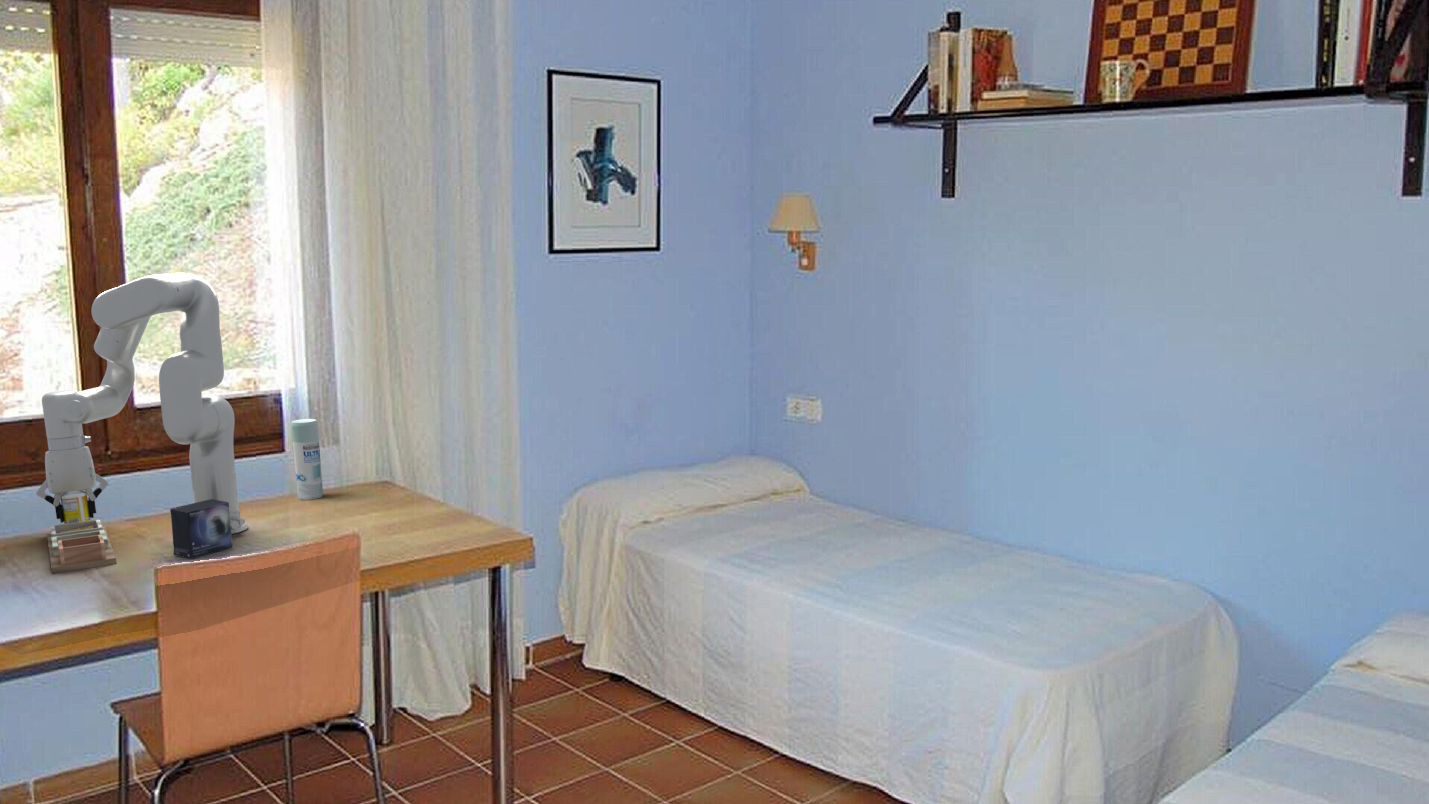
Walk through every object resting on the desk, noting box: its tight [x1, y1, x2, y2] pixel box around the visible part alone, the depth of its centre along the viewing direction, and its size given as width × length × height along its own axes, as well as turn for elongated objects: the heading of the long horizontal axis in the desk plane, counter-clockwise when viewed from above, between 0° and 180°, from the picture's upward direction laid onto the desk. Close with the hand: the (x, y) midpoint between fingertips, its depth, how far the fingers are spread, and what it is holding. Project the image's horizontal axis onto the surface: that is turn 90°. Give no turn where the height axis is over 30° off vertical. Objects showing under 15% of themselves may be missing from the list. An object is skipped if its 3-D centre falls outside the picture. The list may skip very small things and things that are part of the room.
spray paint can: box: [290, 418, 324, 501], centre depth 313 cm, size 6×6×20 cm
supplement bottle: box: [60, 490, 92, 524], centre depth 286 cm, size 6×6×10 cm
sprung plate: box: [59, 526, 93, 533], centre depth 277 cm, size 7×7×1 cm
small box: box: [169, 499, 233, 559], centre depth 263 cm, size 11×6×10 cm, turn 148°
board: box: [46, 519, 117, 574], centre depth 268 cm, size 34×12×5 cm, turn 30°
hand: (77, 518), depth 287 cm, fingers closed on supplement bottle, 5 cm apart
